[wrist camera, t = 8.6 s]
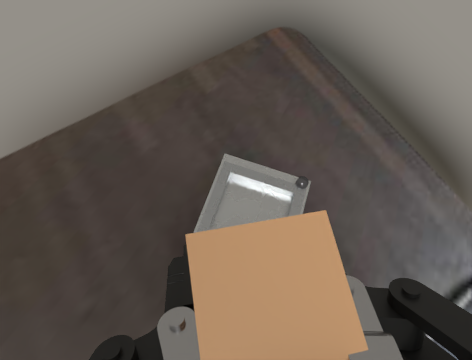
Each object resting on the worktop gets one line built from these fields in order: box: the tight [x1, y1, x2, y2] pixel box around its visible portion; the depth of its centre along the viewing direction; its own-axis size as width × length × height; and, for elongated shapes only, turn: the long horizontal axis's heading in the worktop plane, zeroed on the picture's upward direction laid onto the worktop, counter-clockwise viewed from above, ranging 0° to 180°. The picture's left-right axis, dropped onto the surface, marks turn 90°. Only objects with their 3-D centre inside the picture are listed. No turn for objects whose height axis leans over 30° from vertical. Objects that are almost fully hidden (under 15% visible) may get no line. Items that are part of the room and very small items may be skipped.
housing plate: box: [193, 154, 311, 233], centre depth 29 cm, size 12×10×3 cm
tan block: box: [185, 210, 368, 360], centre depth 12 cm, size 4×4×10 cm
